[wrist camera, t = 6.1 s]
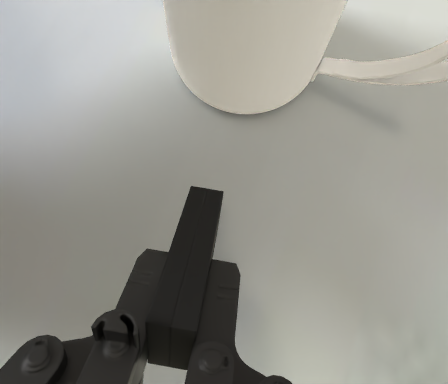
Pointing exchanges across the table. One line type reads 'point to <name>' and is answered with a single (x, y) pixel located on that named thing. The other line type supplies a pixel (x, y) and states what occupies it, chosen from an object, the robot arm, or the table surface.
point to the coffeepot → (274, 52)
